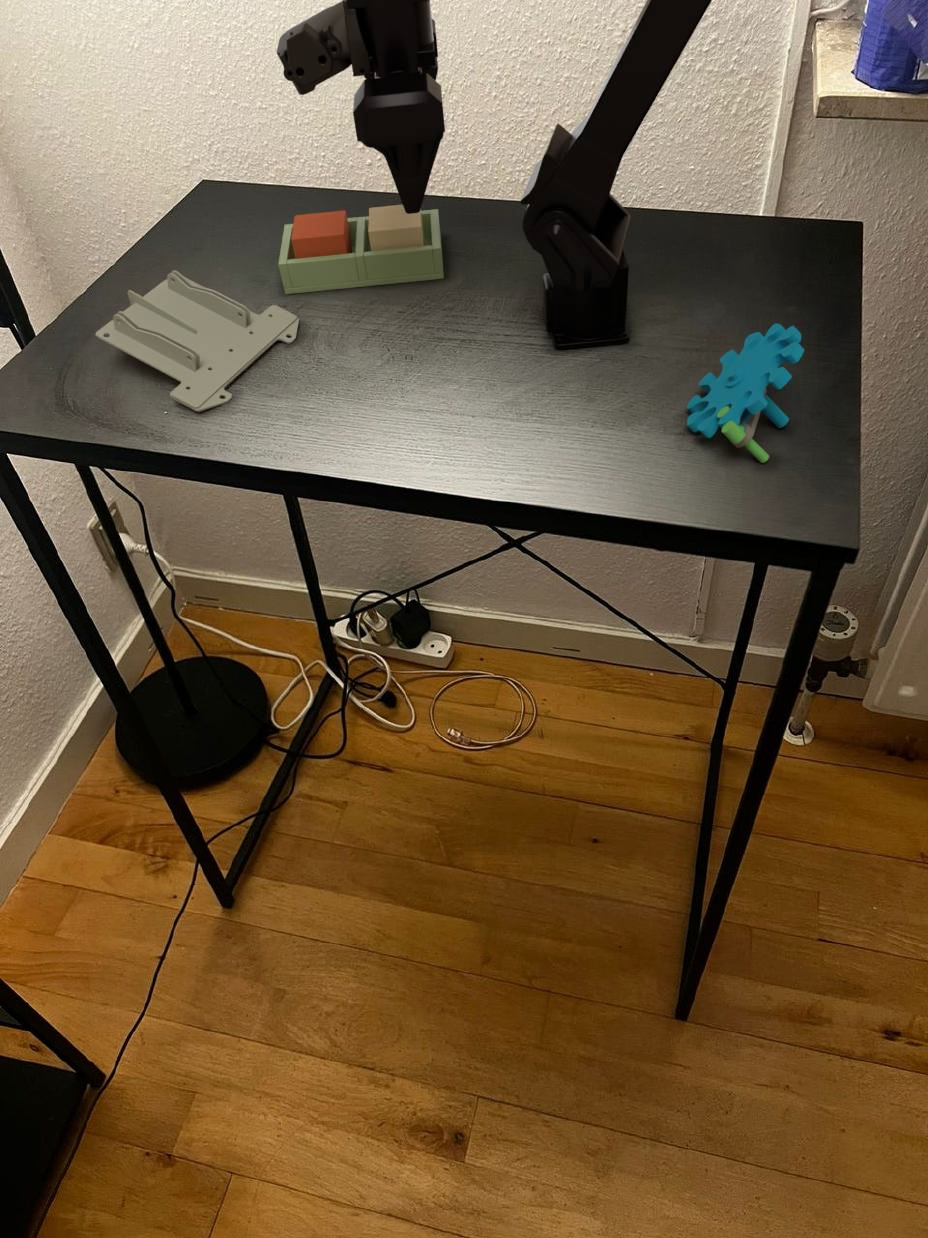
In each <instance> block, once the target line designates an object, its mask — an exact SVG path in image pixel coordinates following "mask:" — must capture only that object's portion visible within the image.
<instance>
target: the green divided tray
mask: <svg viewBox="0 0 928 1238" xmlns="http://www.w3.org/2000/svg"><path fill="white" fill-rule="evenodd" d="M421 215H422V223H423V232H424V241H425V246H420V247H410V248H400V249H390V250H380V251H371V246H370V240H369V234H368V227H369V215H367V216H358V217H356V216H355V217H347V221H348V227H349V233H350V238H351V244H352V253H349V254H340V255H330V256H320V257H310V258H300V259H295V254H294V250H293V246H292V241H291V238H292V232H293V225H294V223H286V224H284V226H283V234H282V240H281V247H280V251H279V258H278V265H277V266H278V270H279V274H280V278H281V282H282V286H283V289H284V290H283V291H284V295H293V294H303V293H304V294H305V293H312V292H313V293H314V292H323V291H333V290H343V289H354V288H364V287H373V286H383V285H393V284H403V283H412V282H413V283H414V282H422V281H423V282H424V281H433V280H443V279H445V276H444V262H443V261H444V259H443V248H442V247H443V246H442V233H441V226H440V225H441V224H440V213H439V209H438V208H435V209H427V210H426V209H424V210H421Z"/></svg>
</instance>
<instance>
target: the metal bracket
mask: <svg viewBox="0 0 928 1238" xmlns="http://www.w3.org/2000/svg"><path fill="white" fill-rule="evenodd" d="M127 296H128V300H129V303H130V306H128V307H127V308H126V309H124V310H119V311H118V312H117V313H115V314H114V315H113V316H112V319H111V320H110V321H109V322H108V323H106V324H105V325H103V326H102V327H101V328H100V329H98V330H97V331H96V332H95V337H96V338H97V339H99V340H101V341H103V342H105V343H107V344H109V345H111V346H112V347H114V348H116V349H118V350H120V351H121V352H124V353H125V354H127V355H129V356H131V357H133V358H134V359H137V360H138V361H141V362H142V363H144V364H146V365H148V366H149V367H152V368H154V369H155V370H157V371H159V372H161V373H163V374H165V375H167V376H169V377H171V378H172V379H174V380H176V381H178V382H179V383H180V384H178V385H177V386H176V387H175V388H173V390H172V391H170V393H169V396H170V398H171V399H173V400H174V401H176V402H178V403H180V404H182V405H184V406H186V407H187V408H189V409H191V410H193V411H195V412H197V413H200V412H203V411H206V410H209V409H212V408H215V407H218V406H221V405H224V404H227V403H229V402H230V401H231V400H232V399H233V395H232V393H230V392H229V391H227V390H226V389H225V388H226V387H228V386H229V385H230V384H231V383H233V381H235V379H236V378H237V377H239V375H241V374H242V373H243V372H244V371H245V370H247V369H248V368H249V366H251V365H252V364H253V363H254V362H255V361H256V360H257V359H259V358H260V357H261V355H263V354H264V353H266V351H267V350H269V348H271V347H272V346H273V345H274V344H275V343H276V342H278V341H281V342H284V343H285V344H289V345H291V344H292V343H294V342H295V341H296V339H297V333H298V328H299V324H300V319H299V318H298V316H297V315H296V314H294V313H292V312H290V311H288V310H286V309H284V308H282V307H280V306H279V305H276V304H272V305H270V306H268V307H267V308H266V309H265V310H264V311H263V312H262V313H260V314H257V313H256V312H253V311H252V310H249V308H248V307H247V306H246V305H244V304H242V303H240V302H238V301H236V300H234V299H233V298H230V297H229V296H226V295H224V294H223V293H220V292H219V291H217V290H214V289H211V288H208V287H205V286H203V285H201V284H199V283H197V282H195V281H193V280H191V279H189V278H187V277H185V276H183V274H182V273H180V272H179V271H178V270H172V271H171V272H170V273H168V274H167V276H166V279H164V280H163V281H161V282H160V283H159V284H158V285H156V286H155V287H154V288H152V289H151V290H150V291H148V292H147V293H145V295H143V296H142V295H140V294H139V293H136V292H135V291H133V290H131V289H129V290H128V291H127ZM221 397H224V398H221Z"/></svg>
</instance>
